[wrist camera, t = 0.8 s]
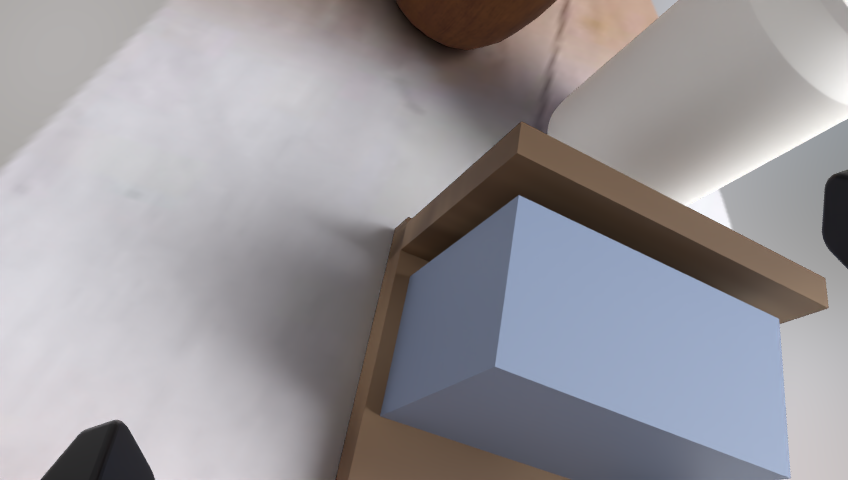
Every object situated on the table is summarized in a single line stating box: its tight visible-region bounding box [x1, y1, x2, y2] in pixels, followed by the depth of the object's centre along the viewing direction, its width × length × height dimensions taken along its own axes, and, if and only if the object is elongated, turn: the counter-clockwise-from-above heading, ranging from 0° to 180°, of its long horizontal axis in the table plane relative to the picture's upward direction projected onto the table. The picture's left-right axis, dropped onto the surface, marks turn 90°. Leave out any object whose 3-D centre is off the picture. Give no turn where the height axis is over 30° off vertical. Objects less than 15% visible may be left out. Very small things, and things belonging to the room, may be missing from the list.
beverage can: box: [547, 0, 848, 206], centre depth 25 cm, size 6×6×12 cm
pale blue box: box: [380, 195, 791, 480], centre depth 20 cm, size 4×9×6 cm, turn 78°
